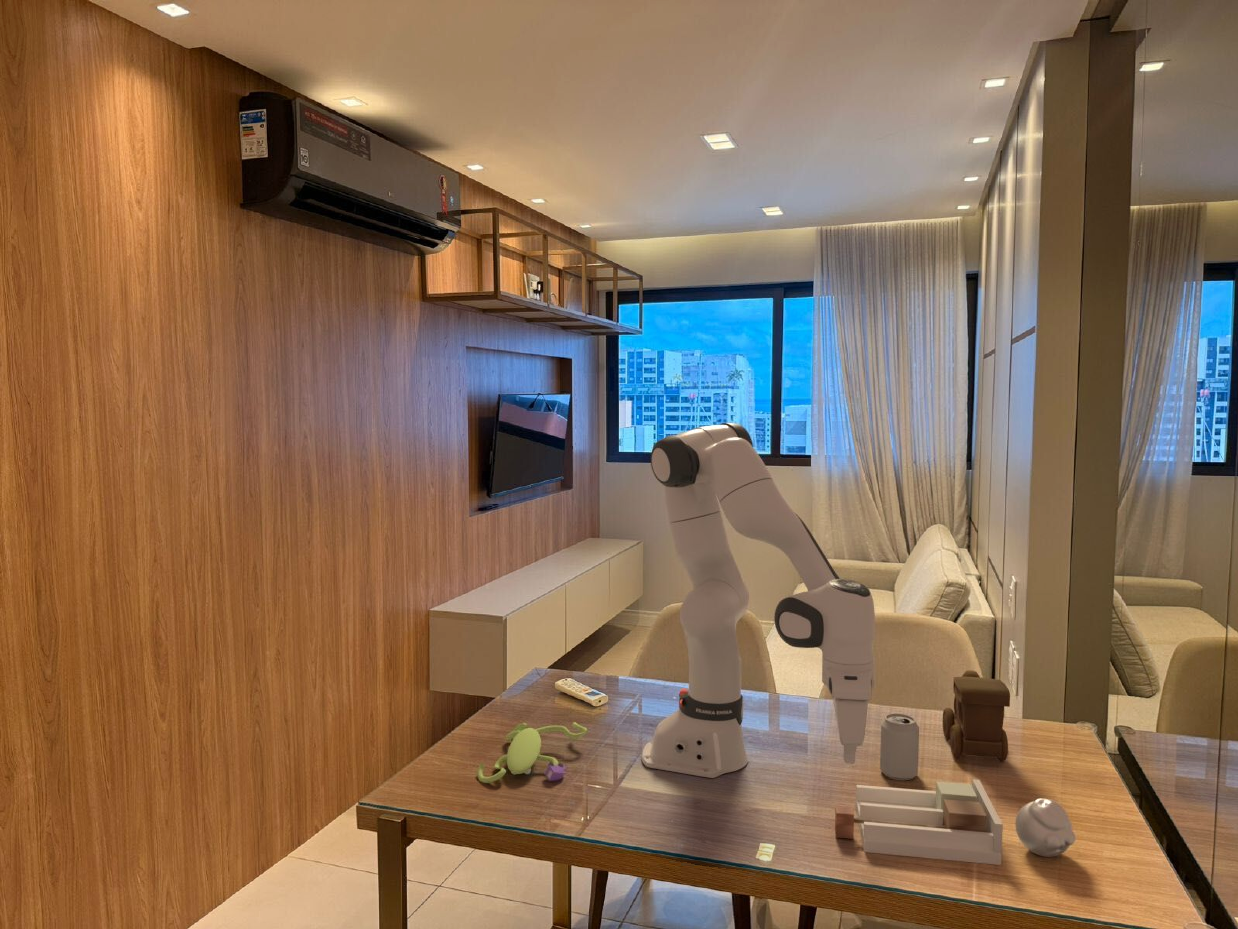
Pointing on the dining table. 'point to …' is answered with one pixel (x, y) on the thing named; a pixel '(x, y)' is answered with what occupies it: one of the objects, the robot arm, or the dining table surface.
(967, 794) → the sage block
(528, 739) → the figurine
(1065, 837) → the grey round lump
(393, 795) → the dining table surface
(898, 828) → the lane shelf
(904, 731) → the can
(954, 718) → the wooden toy train
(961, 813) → the brown block pusher rod
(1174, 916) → the dining table surface
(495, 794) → the dining table surface
